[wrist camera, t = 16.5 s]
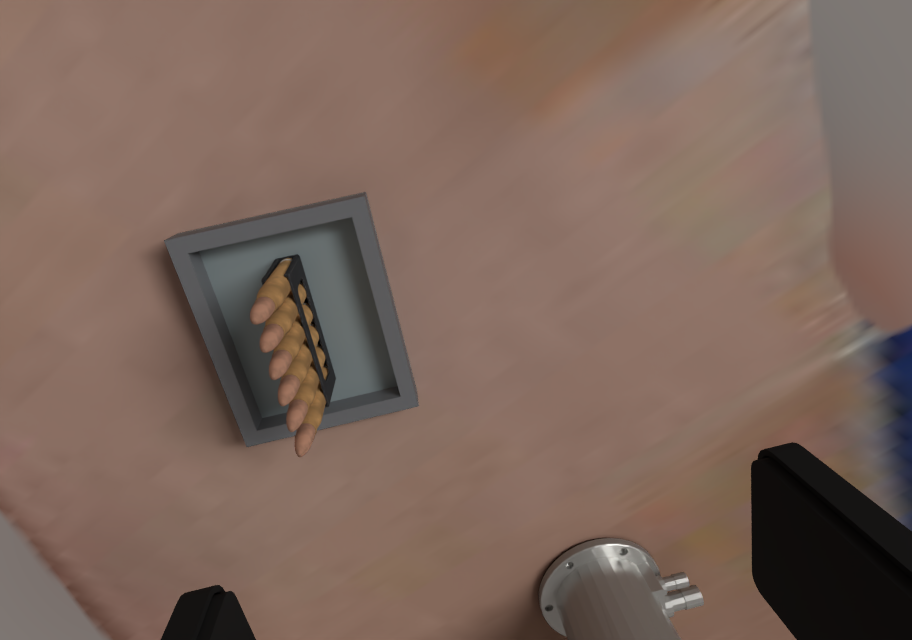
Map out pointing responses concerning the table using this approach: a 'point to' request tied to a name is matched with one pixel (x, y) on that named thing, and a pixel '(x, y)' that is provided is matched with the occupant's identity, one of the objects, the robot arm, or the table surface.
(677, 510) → the table surface
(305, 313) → the ammunition clip
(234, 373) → the holder tray
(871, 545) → the robot arm
